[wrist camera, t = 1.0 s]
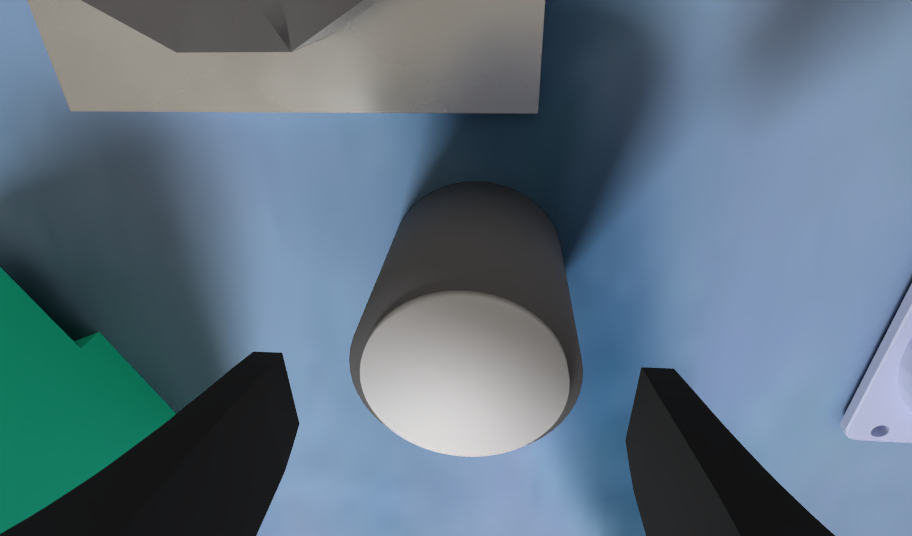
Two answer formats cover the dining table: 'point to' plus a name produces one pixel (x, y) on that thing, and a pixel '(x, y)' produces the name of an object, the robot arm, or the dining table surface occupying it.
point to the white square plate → (295, 55)
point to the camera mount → (61, 407)
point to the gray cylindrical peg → (470, 325)
